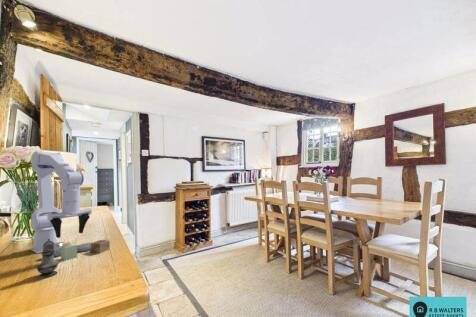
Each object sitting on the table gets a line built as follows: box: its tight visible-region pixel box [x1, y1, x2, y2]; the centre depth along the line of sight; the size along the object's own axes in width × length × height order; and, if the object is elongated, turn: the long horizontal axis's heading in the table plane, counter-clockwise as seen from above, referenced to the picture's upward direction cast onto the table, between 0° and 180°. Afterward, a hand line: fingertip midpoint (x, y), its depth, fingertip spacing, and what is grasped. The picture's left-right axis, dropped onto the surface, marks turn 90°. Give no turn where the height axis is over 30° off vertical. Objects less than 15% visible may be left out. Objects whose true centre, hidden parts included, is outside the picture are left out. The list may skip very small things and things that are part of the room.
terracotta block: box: [62, 240, 72, 246], centre depth 97 cm, size 4×6×4 cm, turn 135°
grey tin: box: [54, 241, 64, 259], centre depth 92 cm, size 4×4×5 cm
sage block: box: [60, 243, 78, 261], centre depth 90 cm, size 4×4×5 cm
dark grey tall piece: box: [35, 239, 60, 280], centre depth 75 cm, size 6×6×12 cm
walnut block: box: [89, 239, 111, 254], centre depth 98 cm, size 5×5×4 cm
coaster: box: [76, 242, 92, 253], centre depth 101 cm, size 10×10×1 cm
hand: (69, 235), depth 90 cm, fingers open, 7 cm apart
